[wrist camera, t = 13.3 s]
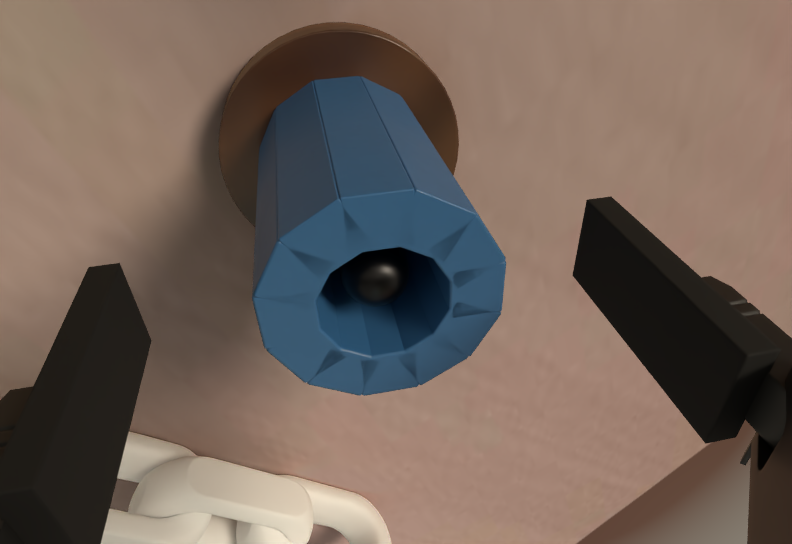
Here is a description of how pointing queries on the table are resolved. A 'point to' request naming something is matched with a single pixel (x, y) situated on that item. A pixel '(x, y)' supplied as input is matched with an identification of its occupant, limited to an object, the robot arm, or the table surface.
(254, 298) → the towel roll
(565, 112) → the table surface
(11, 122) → the table surface
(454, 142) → the stand base
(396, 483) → the table surface
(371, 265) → the stand post
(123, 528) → the chain
